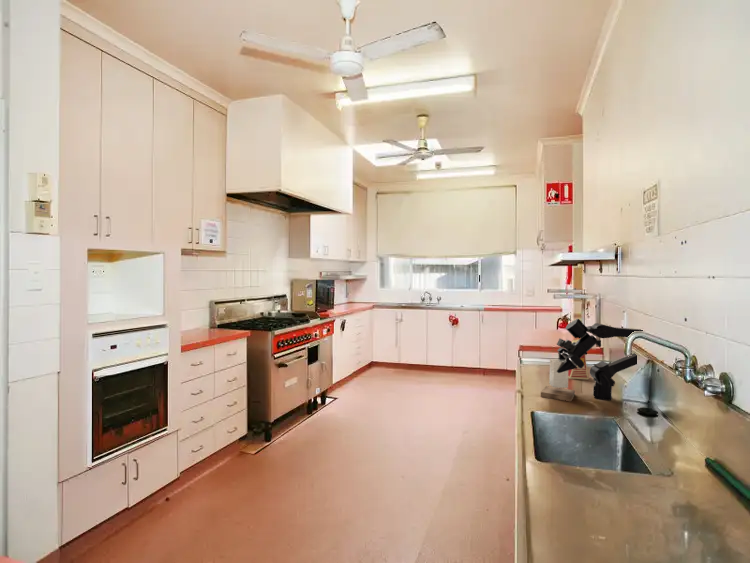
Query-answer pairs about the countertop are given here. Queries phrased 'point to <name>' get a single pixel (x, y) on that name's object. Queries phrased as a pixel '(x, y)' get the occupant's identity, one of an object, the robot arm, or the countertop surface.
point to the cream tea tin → (558, 374)
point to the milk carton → (577, 372)
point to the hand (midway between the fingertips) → (555, 370)
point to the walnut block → (558, 393)
